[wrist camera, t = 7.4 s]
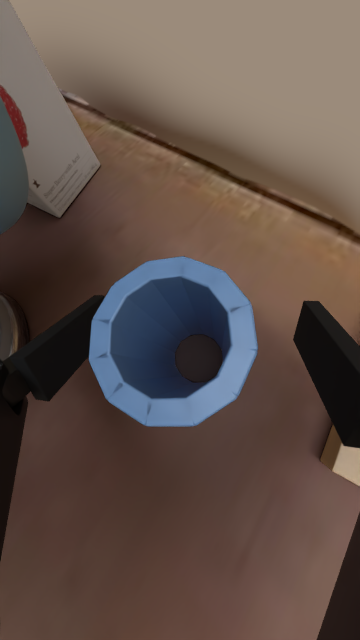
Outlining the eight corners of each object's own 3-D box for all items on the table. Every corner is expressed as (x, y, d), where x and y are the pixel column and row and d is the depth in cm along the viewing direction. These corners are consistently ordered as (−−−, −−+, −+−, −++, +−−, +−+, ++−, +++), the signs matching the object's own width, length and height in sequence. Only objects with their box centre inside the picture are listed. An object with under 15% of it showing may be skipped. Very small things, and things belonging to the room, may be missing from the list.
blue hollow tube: (155, 372, 17) (60, 371, 7) (184, 315, 18) (138, 238, 8) (214, 406, 16) (207, 469, 5) (243, 342, 17) (285, 291, 6)
